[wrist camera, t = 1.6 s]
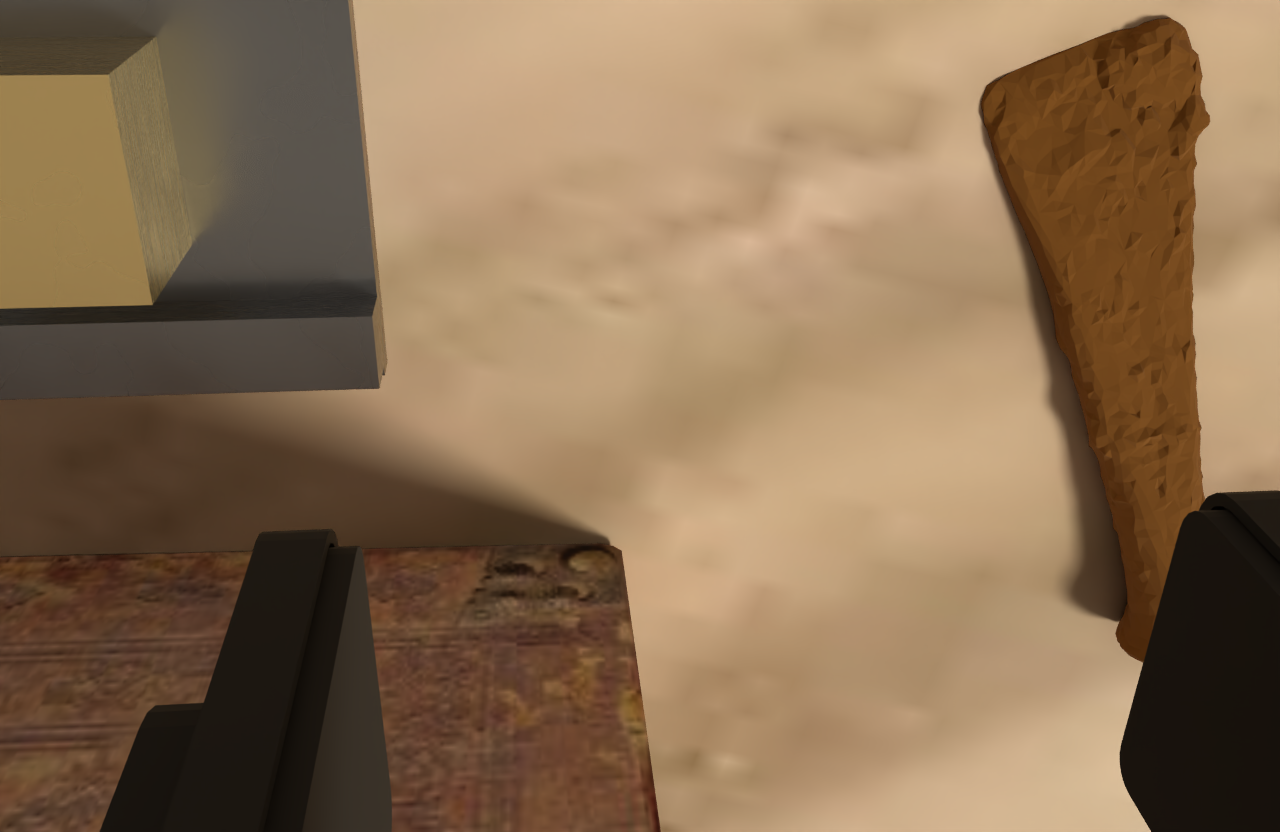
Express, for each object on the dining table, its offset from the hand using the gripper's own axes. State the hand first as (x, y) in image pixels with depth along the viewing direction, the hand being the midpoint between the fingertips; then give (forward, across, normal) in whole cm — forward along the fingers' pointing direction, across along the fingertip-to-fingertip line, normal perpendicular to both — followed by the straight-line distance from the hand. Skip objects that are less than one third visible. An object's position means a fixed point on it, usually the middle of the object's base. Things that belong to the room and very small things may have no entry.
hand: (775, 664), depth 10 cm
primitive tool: (+22, -14, +8) cm, 28 cm away
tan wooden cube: (+16, +10, 0) cm, 19 cm away
